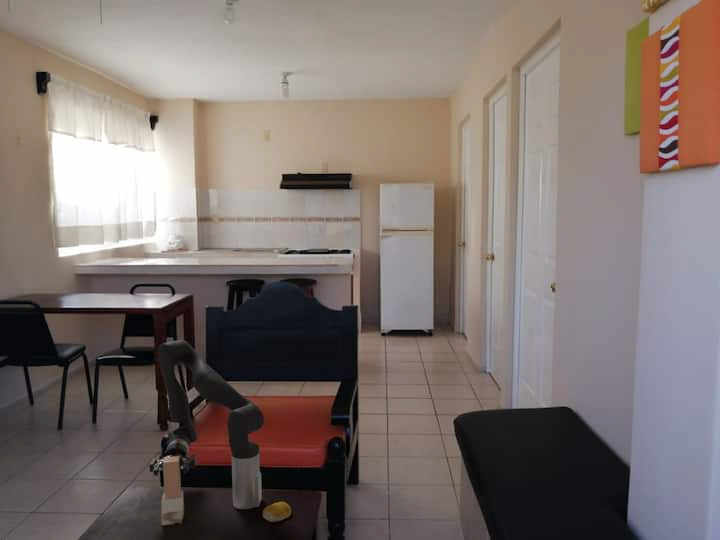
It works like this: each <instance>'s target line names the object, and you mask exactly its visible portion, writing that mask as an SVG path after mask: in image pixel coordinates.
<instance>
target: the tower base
mask: <svg viewBox="0 0 720 540" xmlns="http://www.w3.org/2000/svg"><path fill="white" fill-rule="evenodd" d="M184 503H185V502H184ZM184 503H183V507H182V511H176V512H167V513H162V512H161V514H160V515H161V526H167V525H168V526H169V525H175V523H179V524H182V523H183V520H184V515H185V505H184Z"/></svg>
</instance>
